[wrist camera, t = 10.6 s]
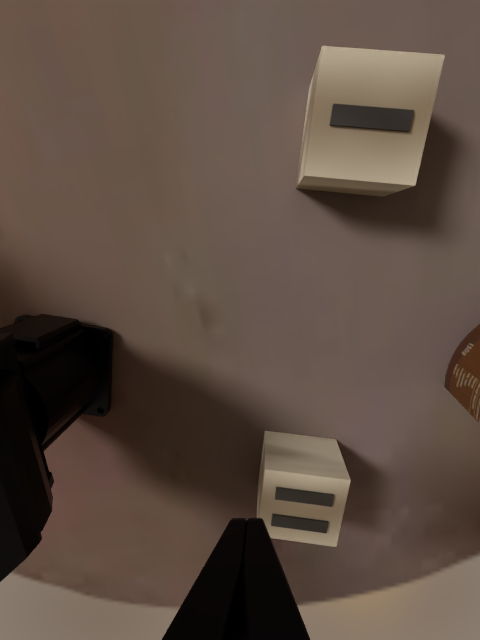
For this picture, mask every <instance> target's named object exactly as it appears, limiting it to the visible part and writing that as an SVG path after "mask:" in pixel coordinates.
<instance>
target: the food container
mask: <svg viewBox="0 0 480 640" xmlns="http://www.w3.org/2000/svg"><path fill="white" fill-rule="evenodd" d="M445 388H446V389H447V390H448V391H449V392H450V393H451V394H452V395H453V396H454V397H455V398H456V400H457V401H458V402H459V403H460V404H461V405H462V406H463V407H464V408H465V409H466V410H467V411H468V412H469V413H470V414H471V415H472V416H473V417H474V418H475V419H476V421H477V422H478V423H479V424H480V324H479V325H478V326H477V327H476V328H474V329H473V330H472V331H471V332H470V333H469V334H468V335H467V336H466V337H465V338H464V339H463V341H462V342H461V343H460V344H459V346H458V348H457V349H456V351H455V352H454V354H453V356H452V358H451V360H450V363H449V365H448V369H447V372H446V377H445Z"/></svg>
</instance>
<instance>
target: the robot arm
mask: <svg viewBox="0 0 480 640" xmlns="http://www.w3.org/2000/svg"><path fill="white" fill-rule="evenodd" d="M102 333H104V334H105V335H106V338H103V336H102ZM112 346H113V334H112V332H111V330H110V329H108V328H105V327H98V326H92V325H86V324H81V322H80V321H78V320H77V319H71V318H65V317H58V316H52V315H46V314H41V315H38V316H29V315H22V316H19V317H17V318H16V319H15V323H14V324H11V325H9V326H6V327H3V328H0V582H1V581H2V580H3V579H4V578H5V577H6V576H8V575H9V574H10V573H11V572H12V571H13V570H14V569H15V568H17V567H18V566H19V565H20V564H21V563H22V562H23V561H24V560H25V559H26V558H27V557H28V556H29V555H30V553H31V552H32V551H33V550H34V549H35V548H36V546H37V545H38V544H39V543H40V541H41V539H42V535H41V531H42V530H43V528H44V526H45V524H46V522H47V520H48V518H49V516H50V514H51V512H52V501H53V496H52V492H51V488H52V485H53V483H54V479H53V476H52V473H51V472H49V470H48V466H47V463H46V459H45V455H44V452H43V451H44V450H45V449H46V448H47V447H49V446H50V445H51V444H52V443H53V442H54V441H55V440H56V439H57V438H58V437H59V436H60V435H61V434H62V433H63V432H64V431H65V430H66V429H67V428H68V427H69V426H70V425H71V424H72V423H73V422H74V421H75V420H76V419H77V418H78V417H79V416H80V415H82V414H89V415H94V416H100V417H102V416H105V415H106V414H107V413H108V412H109V411H110V403H111V375H112ZM100 407H102V408H103V409H104V411H103V410H101V409H100ZM162 640H310V638H309V635H308V633H307V630H306V628H305V625H304V622H303V620H302V618H301V615H300V612H299V610H298V607H297V604H296V602H295V599H294V597H293V594H292V592H291V589H290V586H289V584H288V581H287V579H286V576H285V574H284V571H283V569H282V566H281V563H280V561H279V558H278V556H277V553H276V551H275V548H274V545H273V543H272V540H271V538H270V535H269V533H268V530H267V528H266V525H265V522H264V520H263V519H262V518H249V519H248V520H246V519H245V518H233V519H231V520H230V522H229V524H228V525H227V527H226V529H225V531H224V532H223V534H222V536H221V538H220V539H219V541H218V543H217V545H216V546H215V548H214V550H213V551H212V553H211V555H210V557H209V558H208V560H207V562H206V564H205V565H204V567H203V569H202V571H201V572H200V574H199V576H198V578H197V579H196V581H195V583H194V584H193V586H192V588H191V590H190V591H189V593H188V595H187V597H186V598H185V600H184V602H183V604H182V605H181V607H180V609H179V610H178V612H177V614H176V616H175V618H174V619H173V621H172V623H171V624H170V626H169V628H168V630H167V631H166V633H165V635H164V637H163V638H162Z"/></svg>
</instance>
